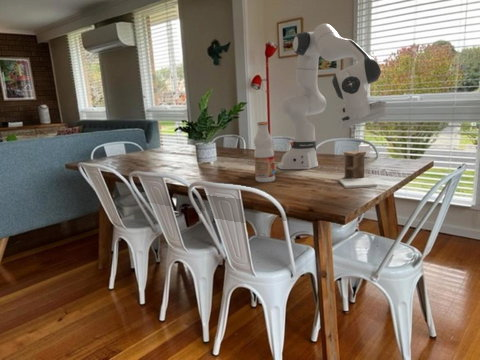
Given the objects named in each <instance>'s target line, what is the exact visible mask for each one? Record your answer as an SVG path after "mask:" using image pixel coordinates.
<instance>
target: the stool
mask: <svg viewBox="0 0 480 360" xmlns="http://www.w3.org/2000/svg"><path fill="white" fill-rule="evenodd" d="M365 154H366V152H363V151H359V150H355V149H354V150H348V151H343V156H344V177H345V178H348V177H352V179H354V178H365V157H364V155H365Z"/></svg>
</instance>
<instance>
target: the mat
mask: <svg viewBox="0 0 480 360" xmlns="http://www.w3.org/2000/svg"><path fill="white" fill-rule="evenodd" d="M338 182H339V183H340V184H341V185H342V186H343V187H344V188H345V189H351V188H370V187H371V188H373V187H374V188H376V187H377V186H378V184H377V183H375V181H373V180H371V178H369V177H363V178H354V179H353V178H340V179H339V181H338Z"/></svg>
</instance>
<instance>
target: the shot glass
mask: <svg viewBox="0 0 480 360" xmlns="http://www.w3.org/2000/svg"><path fill="white" fill-rule="evenodd" d="M371 147H372V145H371V144H368V143H367V144H359V145H358V151H363V152H366V154H365V155H364V158H369V157H370V153H371Z"/></svg>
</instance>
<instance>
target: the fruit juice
mask: <svg viewBox="0 0 480 360" xmlns="http://www.w3.org/2000/svg"><path fill="white" fill-rule="evenodd" d="M256 125H257V127H258V129H257V133H256V136H255V137H254V138H253V143H254V147H255V149H254V154H253V155H254V169H255V170H254V172H255V173H254V175H255V181H256V182H257V181H258V183H271V182H274V181H275V180H276V174H275V173H276V171H275V170H276V169H275V167H276V166H275V150H274V148H273V145H274V139H273V137H272V135H271V134H270V132H269V129H268V126H269V122H268V121H259V122H257V124H256Z"/></svg>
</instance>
